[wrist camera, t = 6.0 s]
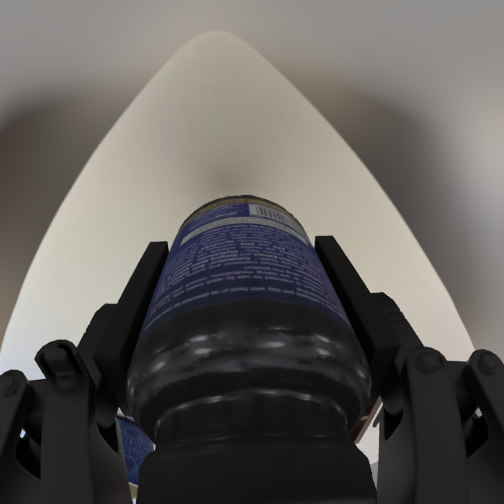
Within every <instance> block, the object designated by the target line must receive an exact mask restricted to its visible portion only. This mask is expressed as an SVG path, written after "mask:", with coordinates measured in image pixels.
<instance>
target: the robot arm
mask: <svg viewBox="0 0 504 504" xmlns="http://www.w3.org/2000/svg"><path fill="white" fill-rule="evenodd" d="M314 250H315V251H316V252H317V254H318V256H319V259H320V261H321V263H322V265H323V267H324V269H325V271H326V274H327V275H328V277H329V279H330V281H331V283H332V285H333V287H334V290H335V292H336V294H337V296H338V298H339V299H340V301H341V303H342V306H343V308H344V310H345V312H346V315H347V317H348V319H349V322H350V324H351V326H352V328H353V330H354V332H355V335H356V337H357V339H358V341H359V343H360V345H361V347H362V349H363V351H364V352H365V354H366V359H367V361H368V364H369V369H370V373H371V377H372V383H371V393H370V399H369V401H368V405H367V407H368V406H373V405H374V404H375V402H376V400H377V398H378V396H379V395H380V397H381V400H382V402H383V406H382V408H381V410H380V411H379V413H378V415H377V417H376V419H375V420H374V423H373V427H376V426H377V424H378V423H379V461H378V479H377V490H376V491H377V504H504V364H503V363H502V361H501V360H500V359H499V357H498V356H497V355H496V354H494V353H492V352H491V351H488V350H485V349H481V350H476V351H474V352H473V353H472V355H471V356H470V358H469V360H468V361H467V362H463V361H447V360H446V358H445V357H444V356H443V355H442V354H441V353H440V352H439V351H437V350H435V349H433V348H430V347H425V346H423V344H422V342H421V341H420V339H419V338H418V336H417V335H416V333H415V331H414V330H413V328H412V327H411V325H410V324H409V322H408V321H407V319H405V316H404V315H403V313H402V312H401V311H400V309H399V307H398V306H397V304H396V303H395V302H394V300H393V299H391V298H390V297H389V296H387V295H386V294H385V293H383V292H379V293H370V291H369V290H368V288H367V287H366V285H365V284H364V282H363V280H362V279H361V277H360V276H359V274H358V273H357V271H356V270H355V268H354V267H353V265H352V264H351V262H350V261H349V259H348V258H347V256H346V255H345V253H344V252H343V250H342V249H341V247H340V246H339V244H338V243H337V241H336V240H335V238H334V237H333V236H315V247H314ZM168 255H169V249H168V242H167V241H161V242H150V243H149V245H148V247H147V249H146V250H145V252H144V254H143V256H142V258H141V259H140V261H139V263H138V265H137V267H136V269H135V270H134V272H133V274H132V276H131V278H130V280H129V282H128V284H127V285H126V287H125V289H124V291H123V293H122V295H121V297H120V299H119V301H118V303H117V304H104V305H103V306H102V307H101V308H100V309H99V310H98V311H96V312H95V314H94V316H93V318H92V320H91V322H90V324H89V325H88V327H87V329H86V333H84V335H83V337H82V339H81V340H80V342H79V344H78V346H77V348H76V346H75V345H74V344H73V343H72V342H70V341H68V340H55V341H52V342H49V343H48V344H46V345H44V346H43V347H42V348H41V349H40V350H39V351H38V352H37V354H36V356H35V359H34V360H35V361H36V363H37V365H38V366H39V368H40V369H41V371H42V373H43V374H44V376H45V377H46V379H40V380H32V381H28V379H27V378H26V376H25V375H24V374H23V373H22V372H21V371H19V370H9V371H6V372H4V373H3V374H2V375H0V504H133V501H132V496H131V492H130V487H129V481H128V476H127V470H126V464H125V458H124V452H123V444H122V437H121V428H120V424H119V421H118V420H117V418H116V415H117V411H118V407H119V408H120V409H121V411H122V413H123V414H124V416H128V417H132V414H131V412H130V410H129V407H128V404H127V395H126V379H127V372H128V369H129V366H130V363H131V359H132V357H133V354H134V351H135V347H136V344H137V341H138V338H139V335H140V332H141V329H142V326H143V323H144V320H145V317H146V314H147V311H148V308H149V306H150V303H151V300H152V297H153V294H154V291H155V289H156V286H157V283H158V281H159V278H160V275H161V273H162V270H163V268H164V265H165V262H166V260H167V257H168ZM478 408H479V409H480V411H481V413H482V416H481V417H479V416H477V414H476V410H477V409H478ZM22 429H23V430H24V431H25V432H26V433H25V435H24V437H23V438H21V437H20V434H21V431H22Z"/></svg>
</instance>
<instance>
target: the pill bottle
mask: <svg viewBox="0 0 504 504" xmlns="http://www.w3.org/2000/svg"><path fill="white" fill-rule="evenodd" d="M371 383H372V377H371V373H370V369H369V364H368V361H367V359H366V354H365V352H364V351H363V349H362V347H361V345H360V343H359V341H358V339H357V337H356V335H355V332H354V330H353V328H352V326H351V324H350V322H349V319H348V317H347V315H346V312H345V310H344V308H343V306H342V303H341V301H340V299H339V298H338V296H337V294H336V292H335V290H334V287H333V285H332V283H331V281H330V279H329V277H328V275H327V274H326V271H325V269H324V267H323V265H322V263H321V261H320V259H319V256H318V254H317V252H316V251H315V250H314V248H313V246H312V244H311V242H310V240H309V238H308V237H307V234H306V232H305V230H304V229H303V227H302V225H301V224H300V223H299V221H298V220H297V219H296V218H295V217H294V216H293V215H292V214H291V213H289V212H288V211H287V210H285V209H284V208H283V207H282V206H280V205H278V204H276V203H274V202H271V201H269V200H266V199H262V198H260V197H256V196H253V195H241V196H227V197H224V198H219V199H216V200H213V201H211V202H209V203H206V204H204V205H203V206H201V207H200V208H198V209H197V210H196V211H194V212H193V213H192V214H191V215H190V216H189V217H188V218H187V219H186V220H185V221H184V222H183V224H182V225H181V227H180V229H179V231H178V234H177V235H176V237H175V240H174V242H173V244H172V247H171V249H170V252H169V255H168V257H167V260H166V262H165V265H164V268H163V270H162V273H161V275H160V278H159V281H158V283H157V286H156V289H155V291H154V294H153V297H152V300H151V303H150V306H149V308H148V311H147V314H146V317H145V320H144V323H143V326H142V329H141V332H140V335H139V338H138V341H137V344H136V347H135V351H134V354H133V357H132V359H131V363H130V366H129V369H128V372H127V379H126V395H127V404H128V407H129V410H130V412H131V414H132V417H133V419H134V420H135V422H136V424H137V425H138V427H139V428H140V430H141V431H142V432H143V433H144V434H145V435H146V437H147V438H149V439H150V440H151V441H152V442H153V443H154V444H155V445H156V449H155V451H152V452H150V453H149V454H148V455H147V456H146V457H145V458H144V460H143V462H142V463H141V464H140V466H139V473H138V475H139V483H138V488H137V498H136V504H377V491H376V487H375V484H374V481H373V478H372V472H371V467H370V463H369V460H368V458H367V456H366V455H364V454H363V452H362V451H360V450H359V449H358V448H357V446H356V445H355V443H354V442H353V441H351V440H349V438H348V436H347V435H348V434H349V433H350V432H352V431H353V430H354V428H355V426H356V425H357V424H358V423H359V421H360V420H361V418H362V416H363V415H364V413H365V411H366V408H367V405H368V401H369V399H370V393H371Z"/></svg>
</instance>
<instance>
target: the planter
mask: <svg viewBox="0 0 504 504" xmlns="http://www.w3.org/2000/svg"><path fill="white" fill-rule="evenodd" d="M117 420H118V421H119V424H120V428H121V437H122V444H123V452H124V458H125V464H126V470H127V476H128V481H129V487H130V492H131V496H132V499H136V498H137V488H138V483H139V475H138V473H139V466H140V464H141V463H142V462H143V460H144V458H145V457H146V456H147V455H148V454H149V453H150V452H152V451H154V446H153V442H152V441H151V440H150V439H149V438H147V437H146V435H145V434H144V433H143V432H142V431H141V430H140V428H139V427H138V426H136V425H134V424H132V423H130V422H128V421H125V420H122V419H118V418H117Z"/></svg>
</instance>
